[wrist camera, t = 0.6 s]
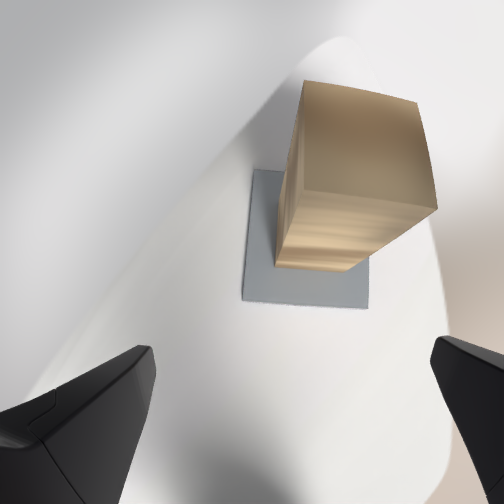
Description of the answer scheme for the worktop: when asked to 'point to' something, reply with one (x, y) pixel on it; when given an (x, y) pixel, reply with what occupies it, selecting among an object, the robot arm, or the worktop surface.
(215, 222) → the worktop surface
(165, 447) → the worktop surface
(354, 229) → the oak block
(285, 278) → the tile
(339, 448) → the worktop surface
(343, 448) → the worktop surface
